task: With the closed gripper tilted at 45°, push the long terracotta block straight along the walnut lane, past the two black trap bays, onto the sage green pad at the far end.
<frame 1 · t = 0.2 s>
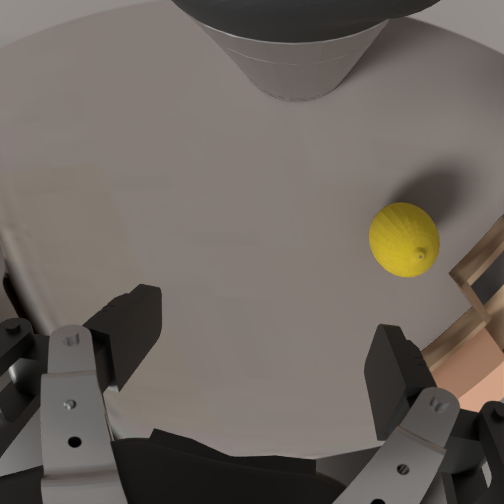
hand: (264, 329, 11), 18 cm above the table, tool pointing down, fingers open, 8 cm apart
lemon: (389, 224, 27), on the table
block: (460, 359, 30), resting on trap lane
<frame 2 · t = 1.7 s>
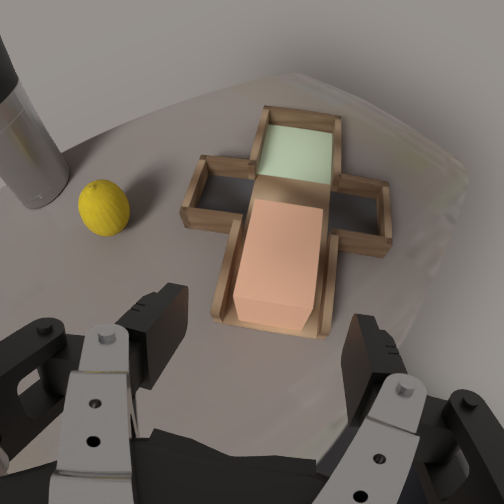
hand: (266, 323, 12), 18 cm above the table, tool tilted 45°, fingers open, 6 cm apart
lemon: (118, 228, 36), on the table
block: (277, 282, 32), resting on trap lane
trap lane: (289, 210, 36), on the table
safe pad: (297, 153, 40), resting in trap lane
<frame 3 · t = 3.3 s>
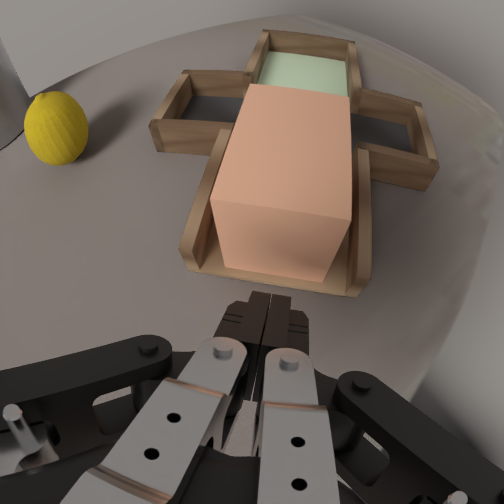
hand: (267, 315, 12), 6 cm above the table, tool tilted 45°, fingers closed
lemon: (75, 161, 25), on the table
block: (283, 213, 21), resting on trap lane
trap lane: (296, 130, 26), on the table
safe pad: (304, 77, 30), resting in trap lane
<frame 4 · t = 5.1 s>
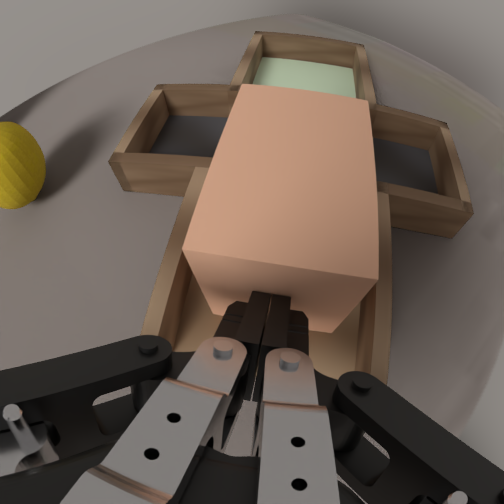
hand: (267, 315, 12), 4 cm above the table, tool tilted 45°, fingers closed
lemon: (35, 199, 21), on the table
block: (285, 245, 18), resting on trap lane, touching gripper
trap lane: (295, 160, 21), on the table
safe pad: (304, 88, 25), resting in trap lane
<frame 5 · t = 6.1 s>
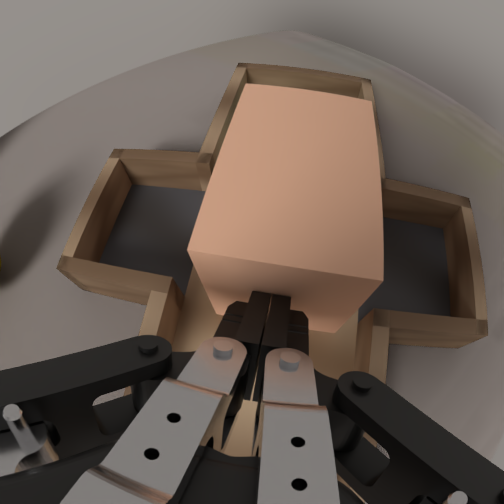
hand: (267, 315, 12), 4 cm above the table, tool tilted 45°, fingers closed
block: (288, 245, 18), resting on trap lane, touching gripper
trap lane: (280, 255, 18), on the table
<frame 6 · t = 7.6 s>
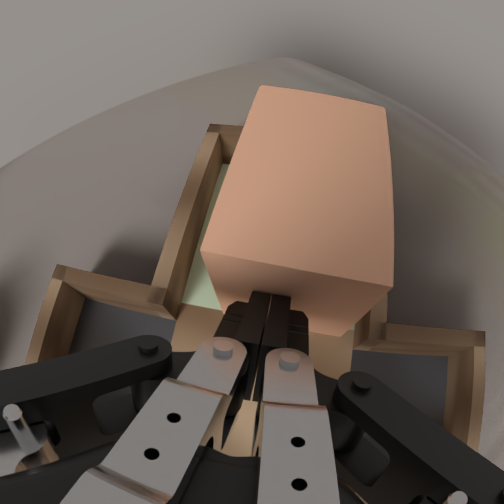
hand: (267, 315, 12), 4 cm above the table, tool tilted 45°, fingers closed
block: (297, 247, 18), resting on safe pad, touching gripper
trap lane: (251, 404, 14), on the table
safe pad: (280, 239, 18), resting in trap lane
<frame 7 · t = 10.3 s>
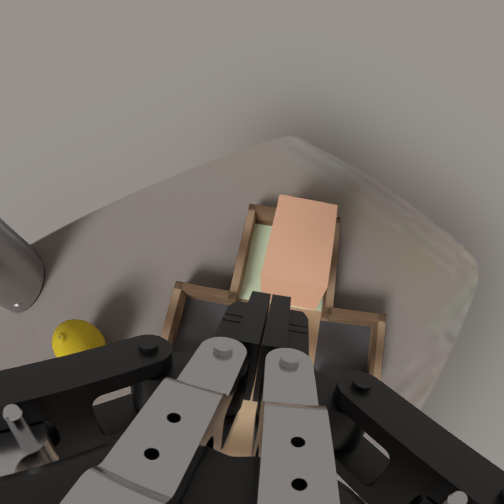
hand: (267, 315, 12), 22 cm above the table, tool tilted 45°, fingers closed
lemon: (97, 353, 33), on the table
block: (295, 267, 36), resting on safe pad
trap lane: (273, 345, 33), on the table
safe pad: (286, 266, 37), resting in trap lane
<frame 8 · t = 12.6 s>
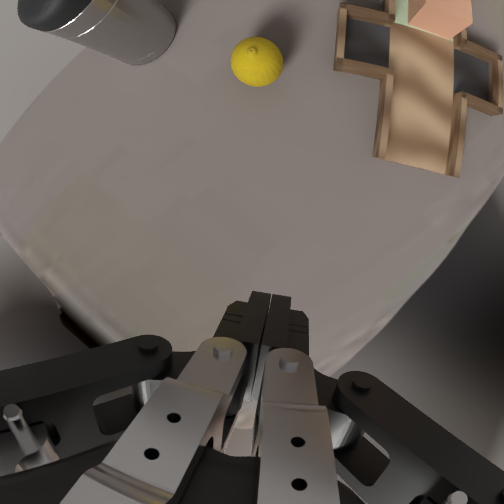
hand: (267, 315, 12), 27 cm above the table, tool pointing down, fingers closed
lemon: (261, 71, 33), on the table
block: (429, 5, 26), resting on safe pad
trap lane: (421, 60, 30), on the table
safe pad: (421, 3, 27), resting in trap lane
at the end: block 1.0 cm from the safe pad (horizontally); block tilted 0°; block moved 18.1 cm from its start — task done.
